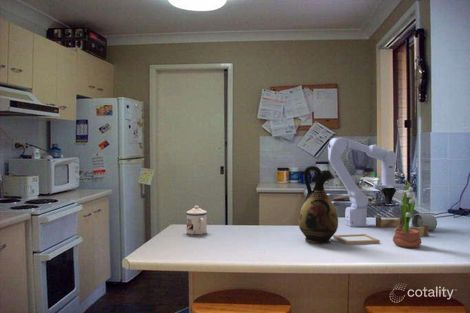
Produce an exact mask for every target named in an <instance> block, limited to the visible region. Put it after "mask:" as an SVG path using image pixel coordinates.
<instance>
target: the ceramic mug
mask: <svg viewBox="0 0 470 313" xmlns="http://www.w3.org/2000/svg"><path fill="white" fill-rule="evenodd" d="M422 225H428V226H429V229H428V232H429V231H433V230H435V229H436V228H437V225H438V221H437V218H436V217H435V216H434V215H432V214H429V213H428V214H427V213H425V214H424V213H415V214H413V215H412V217H411V225H410V227H422Z"/></svg>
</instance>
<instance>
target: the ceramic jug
mask: <svg viewBox="0 0 470 313" xmlns="http://www.w3.org/2000/svg"><path fill="white" fill-rule="evenodd" d="M310 172H315V173H316V174H314V176H313V177H312V179H311V182H312V183H315V184H314V187H313V190H312V186H311V184H310V178H309V173H310ZM334 179H335V175H333V173H332V172H331V171H330V170H327V169H324V170H323V171H321V169H320V168H319V167H318V166H316V165H309V166H307V167H306V168H305V169H304V172H303V180H304V183H305V187H306V191H307V193H306V196H305V199H304V203H303V204H302V206H301V209H300V212H299V214H298V215H299V216H298V222H297V223H298V227H299V230H300V231H301V233H302V235H304V236H305V238H304V239H305V241H306V242H308V243H312V244H316V245H317V244H318V245H323V244H330V241H331V238H333V235H336V232H337V231H338V228H339V218H338V213H337V209H336V208H335V205H334V203H333V201H332V200H331V198H330V196H329V194H327V191H326V190H325V187H324V184H325V183H326V182H329V181H330V180H331V181H332V180H334Z"/></svg>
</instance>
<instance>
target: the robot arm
mask: <svg viewBox="0 0 470 313" xmlns="http://www.w3.org/2000/svg"><path fill="white" fill-rule="evenodd" d="M346 149H353V150H358V151H360V152H364V153H366V155H367V157H369V158H373V159H376V160H378V161H381V184H373V186H372V189H373V190H380V191H381V192H382V193H383V196H384V199H385V203H386V204H387V205H391V204H392V201H393V198H394V195H395V194H396V192H397V189H403V188H404V187H405V183H404V184H403V183H396V173H395V172H396V167H395V165H396V164H395V163H396V161H397V159H398V156H397V154H396V152H395V151H393V150H388V149H387V148H386V147H384V148H382V147H380V146H378V144H371V145H366V144H363V143H360V142H359V141H356V140H354V139H350V138H345V137H342V136H341V137H332V138H331V139H330V140H329V143H328V145H327V150H328V151H327V152H328V156H327V157H328V162H329V163H330V165H331V167H332V168H333V169H334V171H335V173H336V174H337V176H338V178H339V179H340V181H341V182H342V184H343V186H344V188H345V189H346V191H347V195H348V197H349V201H350V203H351V204H350V206H346V208H345V211H344V215H345V217H344V220H345V221H344V224H345V225H347V226H349V227H357V228H358V227H370V226H371V225H370V224H368V223H367V217H368V216H367V212H368V211H367V209H368V208H367V205H368V204H369V197H368V196H367V195H366V194H365V193H363V191H362V189H361V188H360V187H359V186H358V185H357V183H356V182H355V180H354V179H353V177H352V176H351V174H350V172H349V170H348V169H347V167H346V165H345V164H344V162H343V161H342V155H343V153H344V151H345V150H346Z"/></svg>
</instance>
